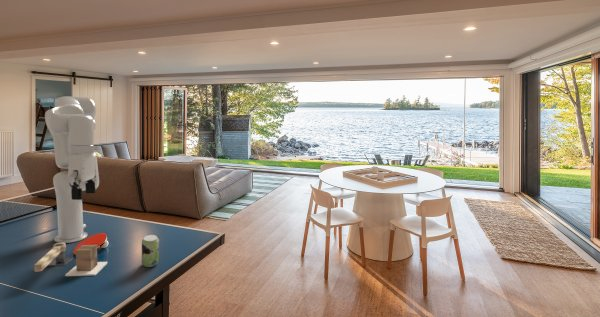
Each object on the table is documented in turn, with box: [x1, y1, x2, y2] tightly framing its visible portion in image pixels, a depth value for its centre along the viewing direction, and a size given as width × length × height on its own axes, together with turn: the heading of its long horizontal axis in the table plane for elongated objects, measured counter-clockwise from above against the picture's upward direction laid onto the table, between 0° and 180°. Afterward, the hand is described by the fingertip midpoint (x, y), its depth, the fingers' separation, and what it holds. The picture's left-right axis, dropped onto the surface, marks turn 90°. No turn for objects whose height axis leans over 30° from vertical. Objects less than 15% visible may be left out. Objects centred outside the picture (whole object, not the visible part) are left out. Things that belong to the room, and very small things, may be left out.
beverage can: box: [141, 234, 160, 268], centre depth 127 cm, size 6×7×12 cm
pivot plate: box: [46, 257, 73, 267], centre depth 128 cm, size 6×6×1 cm
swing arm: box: [33, 242, 67, 273], centre depth 120 cm, size 20×4×6 cm, turn 17°
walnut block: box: [75, 244, 99, 271], centre depth 122 cm, size 5×5×8 cm
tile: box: [64, 261, 108, 277], centre depth 123 cm, size 10×10×1 cm
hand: (84, 196), depth 119 cm, fingers open, 9 cm apart
